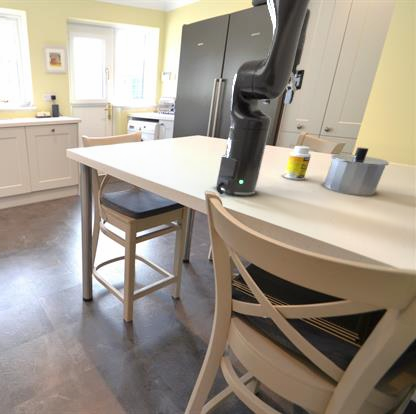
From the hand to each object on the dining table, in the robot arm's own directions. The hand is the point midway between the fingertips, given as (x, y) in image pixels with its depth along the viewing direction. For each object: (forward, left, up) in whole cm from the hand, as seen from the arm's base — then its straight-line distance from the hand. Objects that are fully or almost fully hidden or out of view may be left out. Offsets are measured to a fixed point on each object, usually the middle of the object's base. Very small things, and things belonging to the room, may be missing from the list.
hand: (276, 104), depth 95 cm
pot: (+8, -25, -23) cm, 34 cm away
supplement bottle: (+2, -12, -23) cm, 26 cm away
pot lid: (+8, -25, -14) cm, 30 cm away
